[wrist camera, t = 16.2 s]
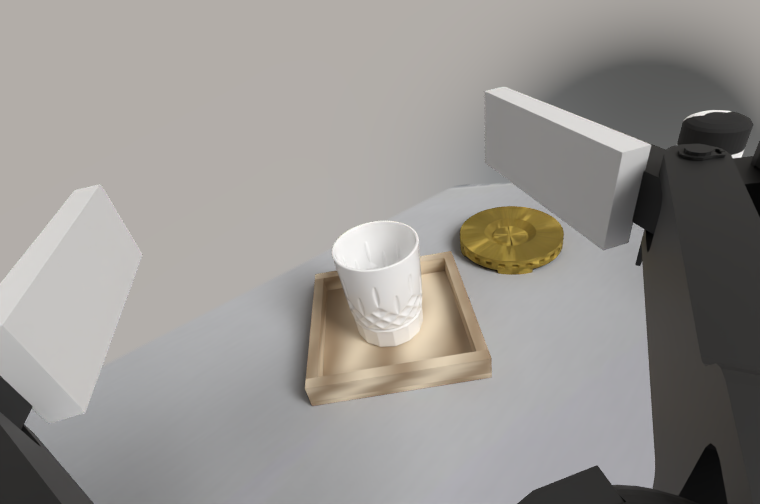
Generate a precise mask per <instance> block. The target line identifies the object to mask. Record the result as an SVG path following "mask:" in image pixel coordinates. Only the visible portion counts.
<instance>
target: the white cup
mask: <svg viewBox="0 0 760 504" xmlns="http://www.w3.org/2000/svg"><path fill="white" fill-rule="evenodd" d="M332 258H333V260H334V263H335V266H336V269H337V272H338V275H339V278H340V281H341V284H342V287H343V290H344V293H345V296H346V299H347V301H348V304H349V307H350V310H351V312H352V314H353V316H354V319H355V322H356V325H357V328H358V331H359V334H360V335H361V336H362V337H363V338H364V339H365V340H366V341H367V342H368V343H371V344H373V345H376V346H379V347H392V346H398V345H400V344H403V343H405V342H408V341H410V340H411V339H412V338H413V337H414V336H415V335H416V334H417V333H418V332H419V331H420V328H421V325H422V322H423V312H422V278H421V265H420V251H419V238H418V235H417V233H416V231H415V230H414V229H413V228H411V227H410V226H408V225H406V224H403V223H400V222H396V221H374V222H369V223H365V224H362V225H358V226H356V227H354V228H352V229H350V230H348V231H346V232H345V233H343V234H342V235H341V236H340V237H339V238H338V239H337V240H336V241H335V243H334V244H333V247H332Z"/></svg>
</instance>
